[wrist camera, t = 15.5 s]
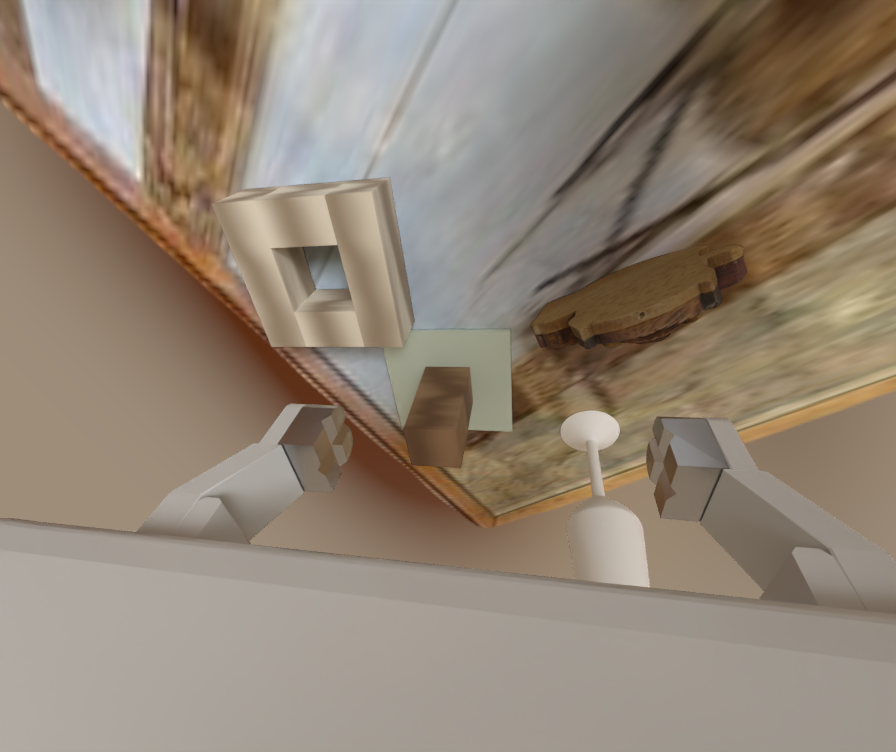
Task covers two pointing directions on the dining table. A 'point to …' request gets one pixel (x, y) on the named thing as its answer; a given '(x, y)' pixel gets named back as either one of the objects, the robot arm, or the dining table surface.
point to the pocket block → (287, 272)
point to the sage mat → (457, 349)
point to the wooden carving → (641, 299)
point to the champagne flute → (602, 513)
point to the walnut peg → (440, 417)
